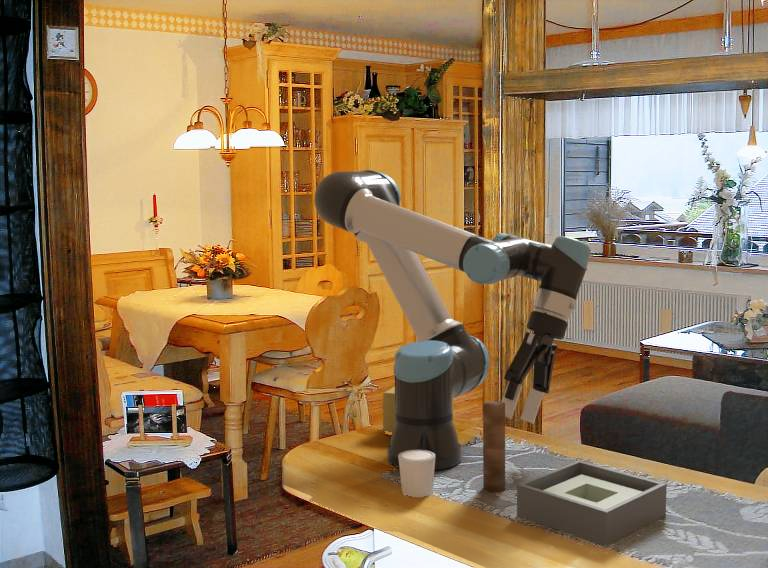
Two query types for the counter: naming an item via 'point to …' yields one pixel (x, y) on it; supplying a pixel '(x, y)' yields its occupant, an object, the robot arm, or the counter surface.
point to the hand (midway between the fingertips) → (516, 419)
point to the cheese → (389, 410)
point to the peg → (494, 446)
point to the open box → (591, 501)
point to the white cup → (417, 472)
